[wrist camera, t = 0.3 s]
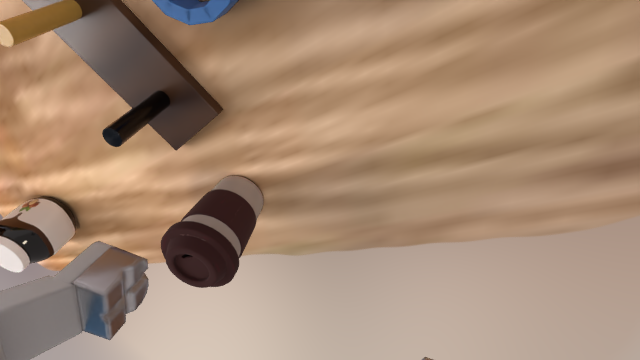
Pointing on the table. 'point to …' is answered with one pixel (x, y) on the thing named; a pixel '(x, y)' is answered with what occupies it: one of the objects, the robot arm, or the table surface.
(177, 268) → the coffee cup
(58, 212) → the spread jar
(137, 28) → the peg rack
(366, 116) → the table surface
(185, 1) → the tape roll
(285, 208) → the table surface
